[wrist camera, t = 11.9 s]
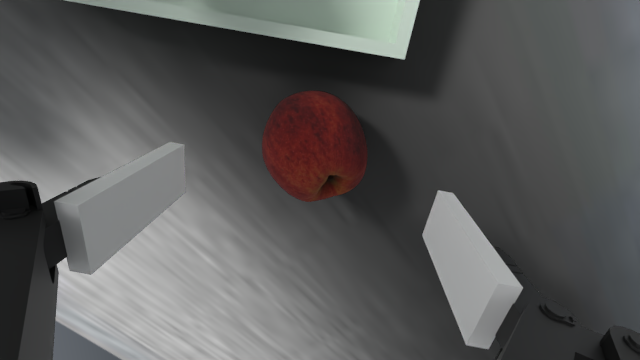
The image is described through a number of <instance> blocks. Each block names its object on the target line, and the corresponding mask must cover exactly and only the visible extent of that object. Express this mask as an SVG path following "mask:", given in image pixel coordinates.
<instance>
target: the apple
mask: <svg viewBox="0 0 640 360" xmlns="http://www.w3.org/2000/svg"><path fill="white" fill-rule="evenodd" d="M262 153H263V158H264V162H265V164H266V167H267V169H268V171H269V172H270V174H271V176H272V177H273V178H274V180H275V181H276V182H277V183H278V184H279V185H280V186H281V187H282V188H283V189H284V190H285V191H286V192H287V193H288V194H290V195H292V196H293V197H295V198H297V199H300V200H302V201H306V202H311V201H317V200H322V199H326V198H329V197H333V196H337V195H341V194H344V193H346V192H348V191H350V190H352V189H353V188H354V187H356V186H357V185H358V184H359V183H360V181H361V180H362V178H363V176H364V173H365V170H366V165H367V145H366V140H365V136H364V132H363V130H362V127H361V125H360V122H359V120H358V119H357V117H356V115H355V114H354V112H353V111H352V109H351V108H350V107H349V106H348V105H347V104H346V103H345V102H343V101H342V100H341V99H339V98H338V97H336V96H334V95H332V94H329V93H327V92H323V91H303V92H299V93H296V94H293V95H291V96H289V97H287V98H285V99H283V100H282V101H281V102H280V103H279V104H278V105H277V106H276V108H275V109H274V110H273V112H272V114H271V115H270V117H269V119H268V122H267V124H266V127H265V130H264V134H263V141H262Z"/></svg>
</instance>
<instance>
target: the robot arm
mask: <svg viewBox="0 0 640 360" xmlns="http://www.w3.org/2000/svg"><path fill="white" fill-rule="evenodd" d="M185 192H186V187H185V149H184V144H179V143H173V142H169V143H167V144H165V145H163V146H161V147H159V148H157V149H155V150H153V151H151V152H149V153H147V154H145V155H143V156H141V157H139V158H137V159H135V160H133V161H132V162H130V163H128V164H126V165H124V166H122V167H120V168H118V169H116V170H114V171H112V172H110V173H108V174H106V175H104V176H102V177H99V178H95V179H91V180H88V181H86V182H84V183H82V184H80V185H78V186H77V187H74V188H72V189H70V190H68V192H64V193H62V194H60V195H58V196H56V197H54V198H52V199H50V200H48V201H46V202H44V203H42V204H41V200H40V196H39V192H38V188H37V185H36V184H35V183H32V182H28V181H8V182H1V183H0V360H53V346H54V331H55V317H56V303H57V288H58V274H59V272H58V268H57V263H59V262H60V261H62V260H63V259H64V258H66V257H67V261H68V266H69V270H70V271H74V272H79V273H85V274H90V275H91V274H93V273H94V272H95V271H96V270H97V269H98V268H99V267H101V266H102V265H103V264H104V263H105V262H106V261H107V260H109V259H110V258H111V257H112V256H113V255H114V254H115V253H117V252H118V251H119V250H120V249H121V248H122V247H123V246H125V245H126V244H127V243H128V242H129V241H130V240H131V239H133V238H134V237H135V236H136V235H137V234H138V233H139V232H141V231H142V230H143V229H144V228H145V227H146V226H147V225H149V224H150V223H151V222H152V221H153V220H154V219H155V218H157V217H158V216H159V215H160V214H161V213H162V212H163V211H165V210H166V209H167V208H168V207H169V206H170V205H172V204H173V203H174V202H175V201H176V200H177V199H178V198H180V197H181V196H182V195H183V194H184V193H185ZM422 236H423V239H424V241H425V244H426V246H427V249H428V251H429V254H430V256H431V259H432V261H433V264H434V266H435V269H436V271H437V274H438V276H439V279H440V281H441V284H442V286H443V289H444V291H445V294H446V296H447V299H448V301H449V304H450V306H451V309H452V311H453V314H454V316H455V319H456V321H457V324H458V326H459V329H460V331H461V334H462V336H463V339H464V341H465V344H466V345H468V346H473V347H479V348H484V349H489V347H490V346H491V344H492V342H493V340H494V339H495V337H496V338H497V340H498V342H499V344H500V346H501V349H500V351H499V352H498V354H497V356H496V357H495V359H494V360H640V334H639V333H637V332H635V331H633V330H630V329H627V328H624V327H621V326H613V327H611V328H610V329H609V330H608V331H607V333H606V334H605V335H601V334H599V333H596V332H594V331H591V330H588V329H586V328H583V327H581V326H580V325H579V322H578V320H577V319H576V318H575V316H574V315H573V314H572V313H570V312H569V311H568V310H567V309H566V308H564V307H563V306H561V305H560V304H558V303H556V302H554V301H552V300H549V299H547V298H543V297H541V296H540V295H539V293H538V292H537V291H536V289H535V288H534V287H533V286H532V284H531V283H530V282H529V281H528V279H527V278H526V277H525V275H522V274H523V273H522V272H521V270H520V269H519V268H518V267H517V265H516V264H515V263H514V261H513V260H512V259H511V258H510V256H508V255H507V254H506V253H505V252H503V251H502V250H501V249H499V248H497V247H493V246H492V245H491V244H490V242H489V241H488V240H487V238H486V237H485V236H484V234H483V233H482V231H481V230H480V229H479V227H478V226H477V225H476V223H475V222H474V221H473V219H472V218H471V217H470V215H469V214H468V212H467V211H466V210H465V208H464V207H463V206H462V204H461V203H460V202H459V200H458V199H457V198H456V196H455V195H454V194H453V193H450V192H445V191H439V190H438V192H437V195H436V198H435V200H434V203H433V206H432V209H431V212H430V215H429V217H428V220H427V223H426V226H425V229H424V231H423V234H422Z"/></svg>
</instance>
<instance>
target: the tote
mask: <svg viewBox="0 0 640 360" xmlns="http://www.w3.org/2000/svg"><path fill="white" fill-rule="evenodd" d="M65 1H71V2H77V3H82V4H88V5H94V6H100V7H105V8H111V9H117V10H123V11H128V12H134V13H140V14H146V15H151V16H157V17H163V18H169V19H174V20H180V21H186V22H191V23H197V24H203V25H209V26H214V27H220V28H226V29H232V30H237V31H243V32H249V33H255V34H260V35H266V36H272V37H278V38H283V39H289V40H295V41H301V42H306V43H312V44H318V45H323V46H329V47H335V48H341V49H346V50H352V51H358V52H364V53H369V54H375V55H381V56H387V57H392V58H398V59H404V60H405V56H406V53H407V49H408V45H409V41H410V37H411V33H412V29H413V25H414V21H415V17H416V14H417V10H418V6H419V2H420V0H65Z"/></svg>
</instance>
